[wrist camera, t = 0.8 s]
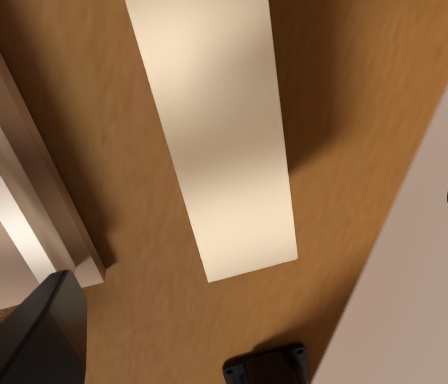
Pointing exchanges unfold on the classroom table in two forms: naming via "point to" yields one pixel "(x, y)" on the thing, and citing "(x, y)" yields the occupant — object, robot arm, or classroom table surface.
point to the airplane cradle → (35, 208)
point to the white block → (221, 126)
